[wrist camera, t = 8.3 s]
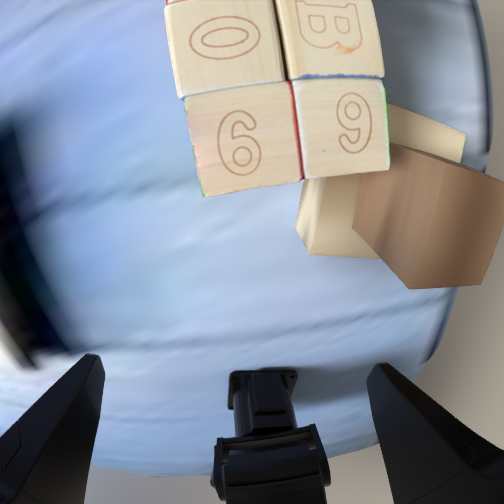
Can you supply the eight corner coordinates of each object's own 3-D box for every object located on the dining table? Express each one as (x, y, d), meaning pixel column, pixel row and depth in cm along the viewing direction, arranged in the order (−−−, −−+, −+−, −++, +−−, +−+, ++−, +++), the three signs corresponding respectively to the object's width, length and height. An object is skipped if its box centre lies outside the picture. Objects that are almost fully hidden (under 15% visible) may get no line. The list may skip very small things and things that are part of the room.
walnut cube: (437, 155, 14) (513, 186, 9) (419, 232, 16) (480, 284, 11) (368, 137, 13) (445, 163, 8) (351, 227, 15) (408, 289, 10)
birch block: (401, 236, 21) (428, 261, 17) (293, 225, 20) (309, 254, 16) (429, 125, 17) (465, 134, 13) (316, 91, 15) (341, 89, 12)
